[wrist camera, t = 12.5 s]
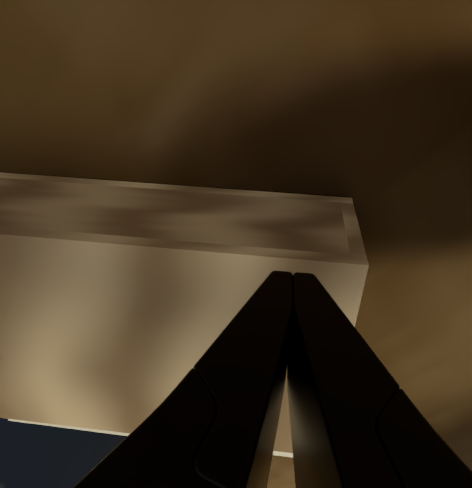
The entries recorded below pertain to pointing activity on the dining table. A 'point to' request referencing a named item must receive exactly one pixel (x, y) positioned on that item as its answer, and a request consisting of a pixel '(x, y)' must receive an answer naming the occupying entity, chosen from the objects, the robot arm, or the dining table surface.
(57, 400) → the cabinet
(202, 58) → the dining table surface
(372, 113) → the dining table surface
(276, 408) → the robot arm
